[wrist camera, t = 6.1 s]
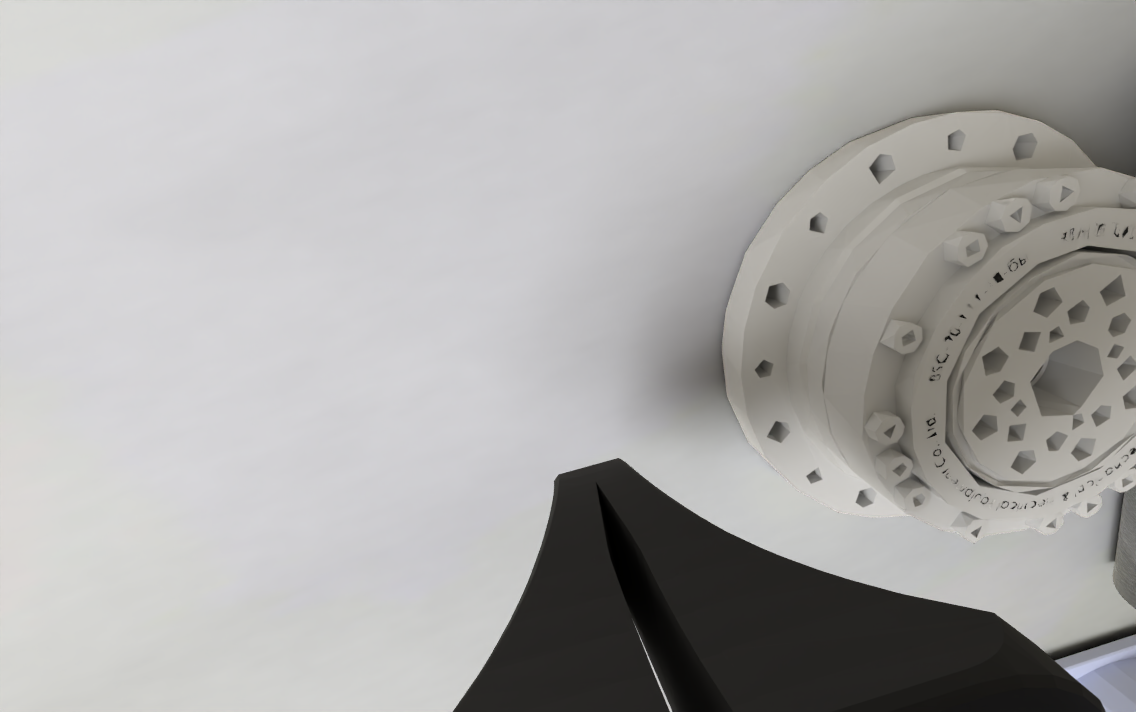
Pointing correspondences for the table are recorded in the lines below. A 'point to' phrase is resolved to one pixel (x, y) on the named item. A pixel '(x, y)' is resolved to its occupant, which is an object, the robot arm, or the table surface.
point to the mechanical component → (944, 328)
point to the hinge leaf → (1127, 549)
